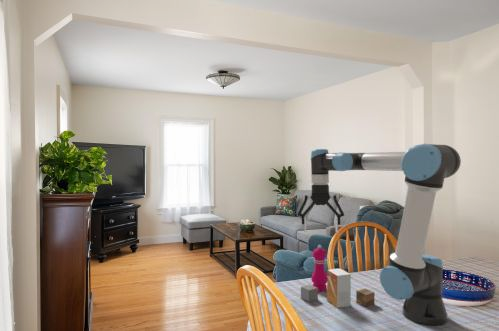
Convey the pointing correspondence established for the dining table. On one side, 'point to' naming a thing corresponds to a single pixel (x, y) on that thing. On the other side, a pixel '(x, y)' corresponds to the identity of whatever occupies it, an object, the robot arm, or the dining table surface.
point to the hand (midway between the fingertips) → (320, 232)
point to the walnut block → (365, 297)
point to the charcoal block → (309, 293)
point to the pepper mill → (319, 269)
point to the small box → (339, 287)
